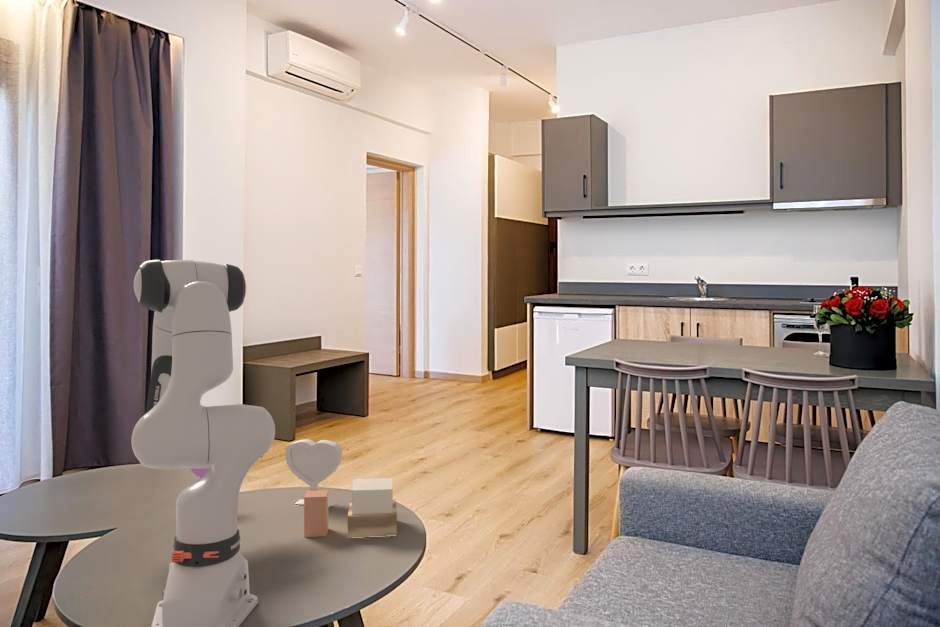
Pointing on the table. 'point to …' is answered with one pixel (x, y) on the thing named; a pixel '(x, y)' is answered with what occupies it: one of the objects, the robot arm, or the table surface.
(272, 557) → the table surface
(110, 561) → the table surface
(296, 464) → the heart sculpture
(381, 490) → the tower top
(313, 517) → the terracotta block
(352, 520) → the tower base
